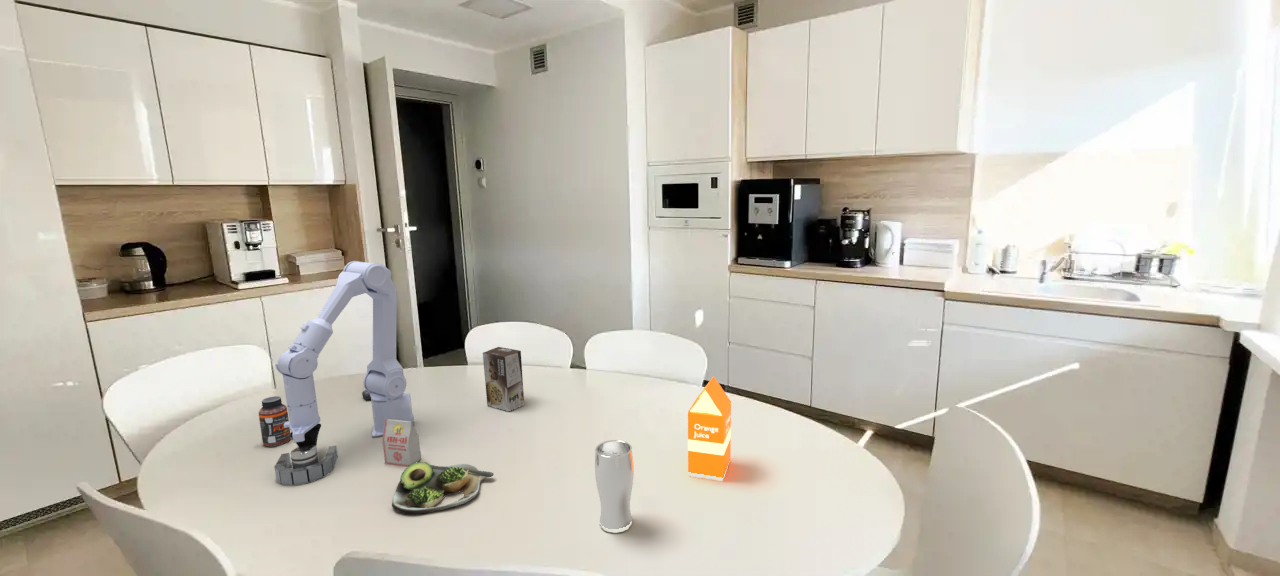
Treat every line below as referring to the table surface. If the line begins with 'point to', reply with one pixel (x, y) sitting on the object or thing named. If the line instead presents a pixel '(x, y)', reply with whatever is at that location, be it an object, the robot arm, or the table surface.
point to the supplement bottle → (274, 422)
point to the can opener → (366, 395)
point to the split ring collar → (304, 469)
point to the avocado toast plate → (435, 486)
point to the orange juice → (709, 431)
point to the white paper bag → (400, 443)
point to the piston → (304, 456)
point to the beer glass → (614, 482)
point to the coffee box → (503, 378)
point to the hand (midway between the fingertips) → (309, 458)
